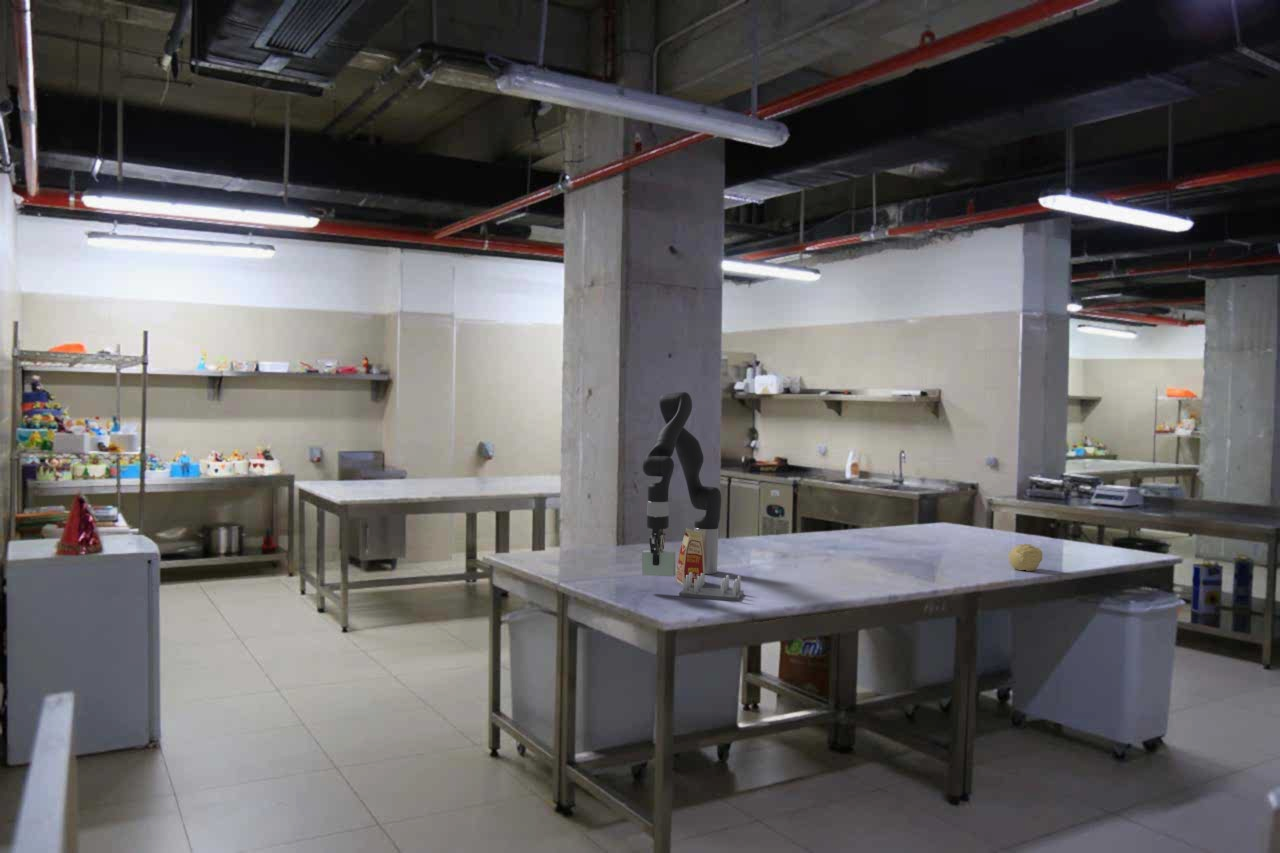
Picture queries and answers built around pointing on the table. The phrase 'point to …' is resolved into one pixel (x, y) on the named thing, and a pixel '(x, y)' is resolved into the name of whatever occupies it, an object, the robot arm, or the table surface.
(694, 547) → the milk carton
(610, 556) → the table surface
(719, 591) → the dish rack
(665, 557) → the sage green prism
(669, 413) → the robot arm
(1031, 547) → the yellow lumpy ball
